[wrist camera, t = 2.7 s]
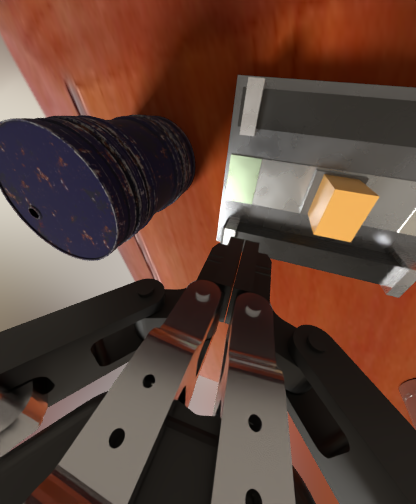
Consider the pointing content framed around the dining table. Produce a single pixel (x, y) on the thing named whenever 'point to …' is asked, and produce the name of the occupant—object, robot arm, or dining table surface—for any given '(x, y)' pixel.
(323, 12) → the dining table surface
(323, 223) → the toggle
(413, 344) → the dining table surface
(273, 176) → the grey flat railed piece
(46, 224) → the dark blue cylinder
